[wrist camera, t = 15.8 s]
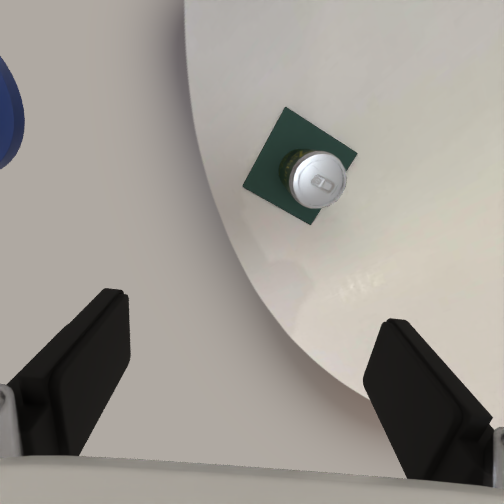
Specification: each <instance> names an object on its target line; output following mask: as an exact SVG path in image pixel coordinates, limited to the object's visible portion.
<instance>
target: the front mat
mask: <svg viewBox="0 0 504 504" xmlns="http://www.w3.org/2000/svg"><path fill="white" fill-rule="evenodd" d="M295 149H310V150H319V151H325V152H328V153H331V154H333V155H334V156H336V157H337V158H338V159H339V160H340V161H341V163H342V165H343V167H344V169H345V172H346V171H347V169H348V168H349V166H350V164H351V163H352V161H353V160H354V158H355V157H356V155H357V154H358V153H356V152H355V151H353V150H352V149H350V148H349V147H347V146H346V145H344V144H342V143H341V142H339V141H338V140H336V139H335V138H333V137H332V136H330V135H329V134H327V133H325V132H324V131H322V130H321V129H319V128H318V127H316V126H315V125H313V124H312V123H310V122H308V121H307V120H305V119H304V118H302V117H301V116H299V115H298V114H296V113H295V112H293V111H291V110H290V109H288V108H287V107H285V108H284V110H283V112H282V114H281V116H280V118H279V119H278V121H277V123H276V125H275V127H274V129H273V131H272V132H271V134H270V136H269V138H268V140H267V142H266V143H265V145H264V147H263V149H262V151H261V153H260V155H259V156H258V158H257V160H256V162H255V164H254V166H253V168H252V169H251V171H250V173H249V175H248V177H247V179H246V180H245V182H244V184H243V187H244V188H246V189H248V190H249V191H251V192H253V193H255V194H256V195H258V196H260V197H262V198H263V199H265V200H267V201H269V202H271V203H272V204H274V205H276V206H278V207H279V208H281V209H283V210H285V211H286V212H288V213H290V214H292V215H293V216H295V217H297V218H299V219H301V220H302V221H304V222H306V223H308V224H309V225H311V224H312V222H313V221H314V219H315V218H316V216H317V215H318V213H319V212H320V210H321V209H322V208H308V207H305V206H302V205H301V204H300V203H298V202H297V201H296V200H295V199H294V197H293V196H292V195H291V194H290V193H289V191H288V190H287V189H286V188H285V186H284V185H283V183H282V182H281V181H280V177H279V166H280V163H281V160H282V159H283V158H284V156H285V155H286V154H288V153H289V152H290V151H293V150H295Z"/></svg>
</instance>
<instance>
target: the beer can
mask: <svg viewBox="0 0 504 504" xmlns="http://www.w3.org/2000/svg"><path fill="white" fill-rule="evenodd" d="M279 177H280V181H281V182H282V183H283V185H284V186H285V188H286V189H287V190H288V191H289V193H290V194H291V195H292V196H293V197H294V199H295V200H296V201H297V202H298V203H300V204H301V205H302V206H305V207H308V208H324V207H327V206H330V205H332V204H333V203H335V202H336V201H337V200H338V199H339V198H340V196H341V195H342V194H343V191H344V189H345V187H346V180H347V177H346V172H345V169H344V167H343V165H342V163H341V161H340V160H339V159H338V158H337V157H336V156H334V155H333V154H331V153H328V152H325V151H319V150H310V149H295V150H293V151H290V152H289V153H288V154H286V155H285V156H284V158H283V159H282V160H281V163H280V166H279Z"/></svg>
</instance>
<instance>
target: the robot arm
mask: <svg viewBox="0 0 504 504" xmlns="http://www.w3.org/2000/svg"><path fill="white" fill-rule="evenodd" d="M130 354H131V353H130V326H129V298H128V295H126V294H124V292H123V291H122V290H118V289H109V288H105V289H103V290H102V291H101V292H100V293H99V294H98V295H97V296H96V297H95V298H94V299H93V300H92V301H91V302H90V303H89V304H88V305H87V306H86V307H85V308H84V309H83V310H82V311H81V312H80V313H79V314H78V315H77V316H76V317H75V318H74V319H73V320H72V321H71V322H70V323H69V324H68V325H66V326H65V327H64V328H63V329H62V330H61V331H60V332H59V333H58V334H57V335H56V336H55V337H54V338H53V339H52V340H51V341H50V342H49V343H48V344H47V345H46V346H45V347H44V348H43V349H42V350H41V351H40V352H39V353H38V354H37V355H36V356H35V357H34V358H33V359H32V360H31V361H30V362H29V363H28V364H27V365H26V366H25V367H24V368H23V369H22V370H21V371H20V372H19V373H18V374H17V375H16V376H15V377H14V378H13V379H12V380H11V381H10V382H9V383H8V384H7V385H5V384H0V504H504V427H499V428H497V429H495V430H494V429H493V428H492V427H491V426H490V425H489V423H490V422H491V420H492V418H493V417H492V416H491V415H490V414H489V412H488V411H487V410H486V409H485V408H484V407H483V406H482V405H481V403H480V402H479V401H478V400H477V399H476V398H475V397H474V396H473V394H472V393H471V392H470V391H469V390H468V389H467V388H466V387H465V385H464V384H463V383H462V382H461V381H460V380H459V379H458V378H457V376H456V375H455V374H454V373H453V372H452V371H451V370H450V368H449V367H448V366H447V365H446V364H445V363H444V362H443V361H442V359H441V358H440V357H439V356H438V355H437V354H436V353H435V352H434V350H433V349H432V348H431V347H430V346H429V345H428V344H427V343H426V341H425V340H424V339H423V338H422V337H421V336H420V335H419V334H418V332H417V331H416V330H415V329H414V328H413V327H412V326H411V325H410V323H409V322H408V321H406V320H401V319H392V318H390V319H388V320H387V321H386V322H383V323H382V325H381V328H380V331H379V334H378V337H377V339H376V342H375V345H374V348H373V351H372V354H371V356H370V359H369V362H368V365H367V368H366V370H365V373H364V376H363V385H364V388H365V390H366V392H367V394H368V396H369V398H370V401H371V403H372V405H373V407H374V409H375V411H376V413H377V415H378V418H379V420H380V422H381V424H382V426H383V428H384V430H385V432H386V435H387V436H388V439H389V441H390V443H391V445H392V447H393V449H394V451H395V454H396V456H397V458H398V460H399V462H400V464H401V466H402V468H403V471H404V472H405V475H406V477H407V479H403V478H391V477H378V476H366V475H365V476H364V475H353V474H340V473H327V472H314V471H300V470H286V469H273V468H259V467H245V466H232V465H217V464H202V463H188V462H173V461H157V460H143V459H126V458H106V457H86V456H79V454H80V453H81V451H82V449H83V447H84V445H85V443H86V442H87V440H88V438H89V436H90V434H91V432H92V430H93V429H94V427H95V425H96V423H97V421H98V419H99V418H100V416H101V414H102V412H103V410H104V409H105V406H106V405H107V403H108V401H109V399H110V397H111V395H112V394H113V392H114V390H115V388H116V386H117V385H118V383H119V381H120V379H121V377H122V375H123V373H124V372H125V370H126V368H127V366H128V364H129V361H130Z"/></svg>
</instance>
